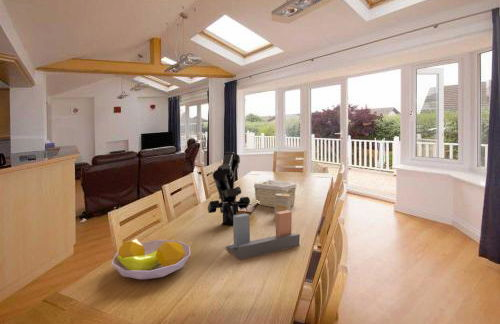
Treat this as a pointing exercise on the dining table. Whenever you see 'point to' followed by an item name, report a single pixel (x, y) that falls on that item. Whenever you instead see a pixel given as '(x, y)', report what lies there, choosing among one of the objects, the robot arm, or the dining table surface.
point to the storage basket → (273, 191)
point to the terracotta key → (283, 223)
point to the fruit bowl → (150, 258)
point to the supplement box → (282, 202)
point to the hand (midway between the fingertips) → (234, 221)
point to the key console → (265, 246)
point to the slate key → (241, 229)
